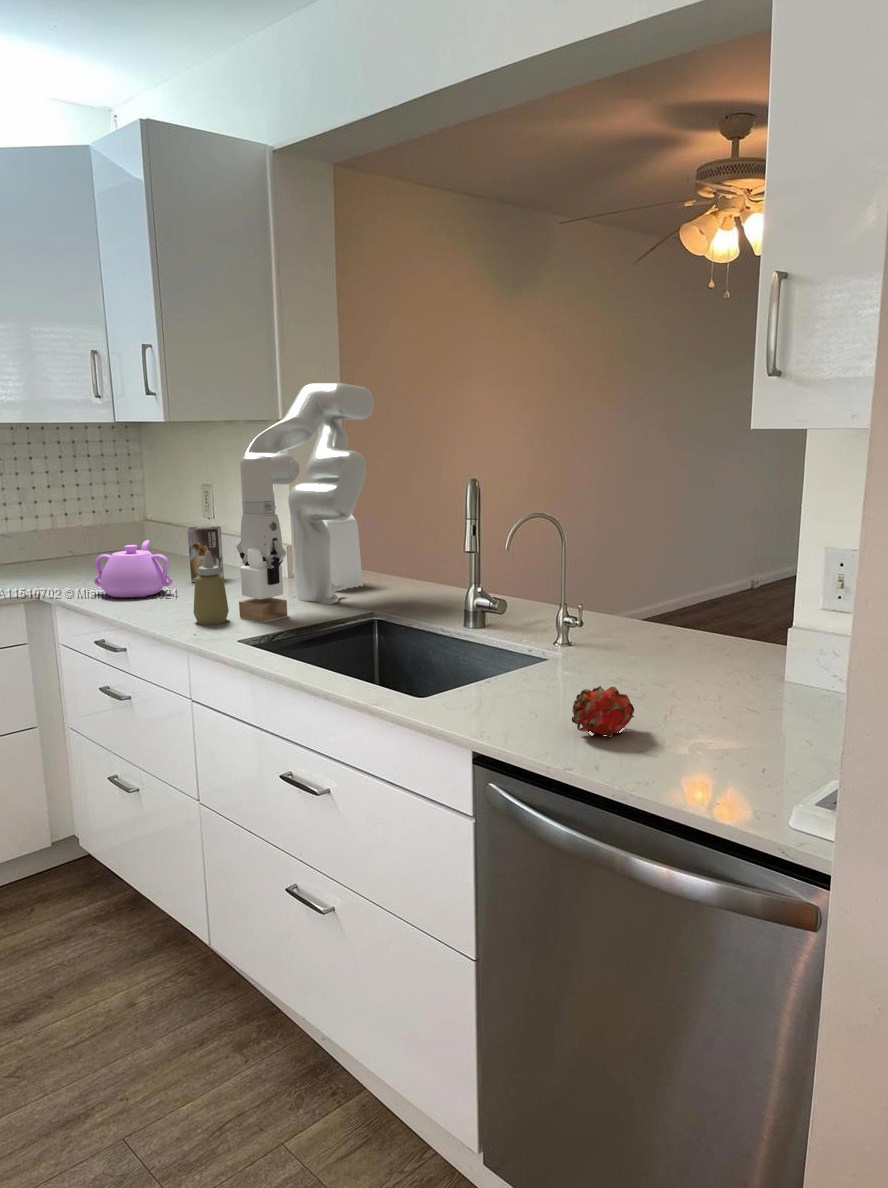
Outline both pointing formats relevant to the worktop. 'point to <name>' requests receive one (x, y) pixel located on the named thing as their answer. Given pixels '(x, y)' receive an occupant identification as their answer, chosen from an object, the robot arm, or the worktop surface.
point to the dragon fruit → (602, 711)
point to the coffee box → (204, 548)
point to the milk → (345, 552)
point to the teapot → (132, 572)
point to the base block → (263, 609)
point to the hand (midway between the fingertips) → (262, 581)
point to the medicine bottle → (259, 577)
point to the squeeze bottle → (210, 594)
